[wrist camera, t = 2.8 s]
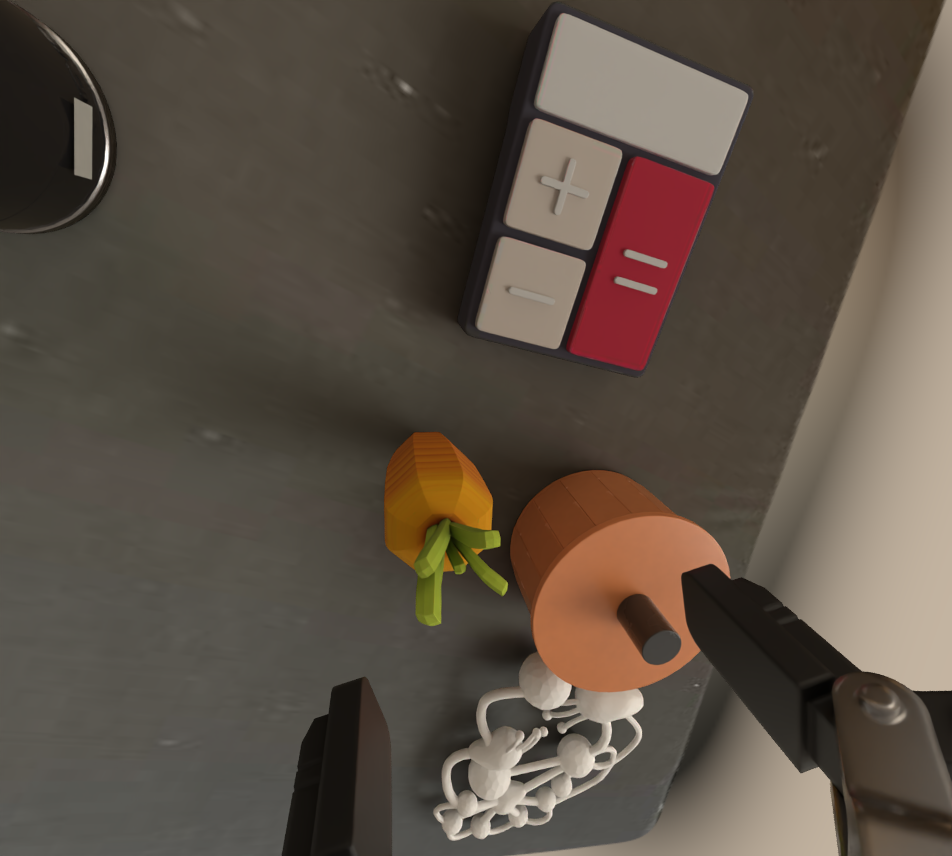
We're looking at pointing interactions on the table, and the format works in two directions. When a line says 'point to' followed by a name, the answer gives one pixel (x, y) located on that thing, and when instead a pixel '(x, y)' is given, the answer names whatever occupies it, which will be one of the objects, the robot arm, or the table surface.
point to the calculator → (598, 193)
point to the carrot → (438, 517)
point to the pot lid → (621, 602)
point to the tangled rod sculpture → (505, 749)
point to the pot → (570, 519)
